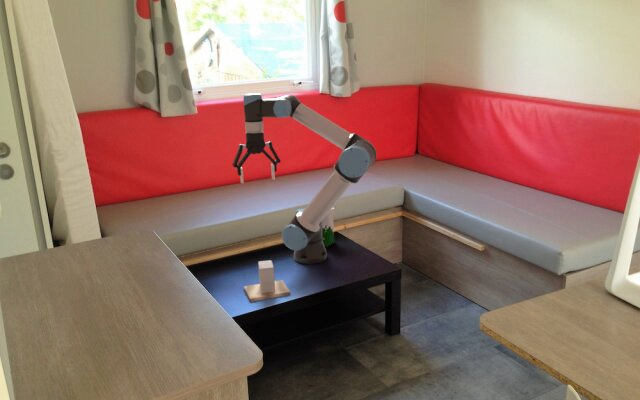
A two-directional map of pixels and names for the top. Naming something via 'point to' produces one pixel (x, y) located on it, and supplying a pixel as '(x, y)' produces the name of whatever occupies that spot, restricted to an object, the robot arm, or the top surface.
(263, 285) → the small box
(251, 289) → the birch board
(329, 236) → the milk carton
